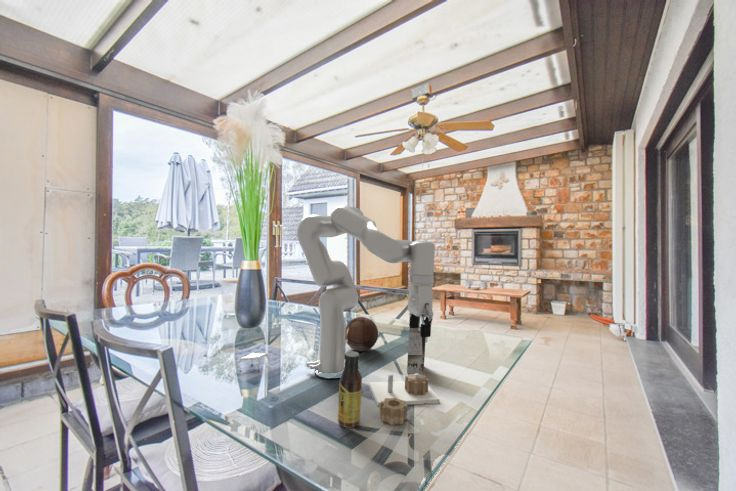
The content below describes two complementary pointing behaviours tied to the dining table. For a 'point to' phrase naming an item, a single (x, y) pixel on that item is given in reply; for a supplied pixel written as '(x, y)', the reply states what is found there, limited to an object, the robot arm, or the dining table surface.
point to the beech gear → (393, 411)
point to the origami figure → (254, 356)
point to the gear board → (404, 390)
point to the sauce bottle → (350, 392)
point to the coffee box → (416, 351)
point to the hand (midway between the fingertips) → (419, 332)
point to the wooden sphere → (361, 333)
